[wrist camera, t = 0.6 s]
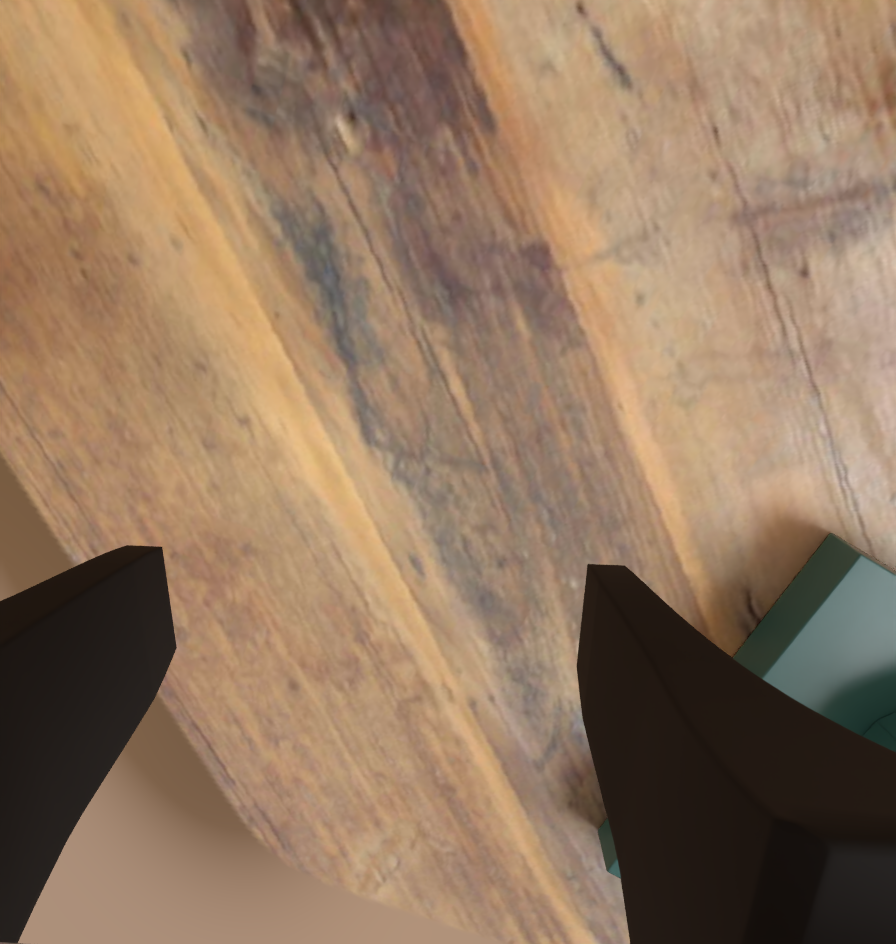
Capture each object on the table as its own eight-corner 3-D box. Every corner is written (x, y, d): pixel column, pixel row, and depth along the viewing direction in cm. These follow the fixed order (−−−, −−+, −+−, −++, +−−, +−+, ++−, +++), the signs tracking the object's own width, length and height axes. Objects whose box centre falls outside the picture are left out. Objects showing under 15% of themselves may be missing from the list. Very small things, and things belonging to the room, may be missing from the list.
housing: (834, 955, 24) (892, 1064, 21) (596, 830, 23) (617, 923, 20) (1089, 687, 21) (1204, 763, 18) (829, 531, 20) (900, 581, 17)
